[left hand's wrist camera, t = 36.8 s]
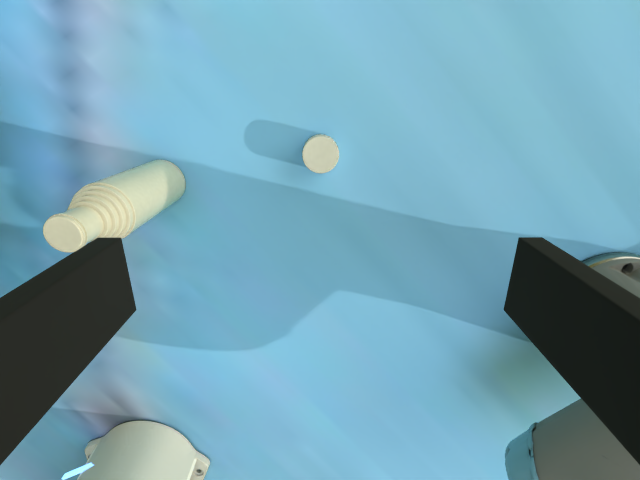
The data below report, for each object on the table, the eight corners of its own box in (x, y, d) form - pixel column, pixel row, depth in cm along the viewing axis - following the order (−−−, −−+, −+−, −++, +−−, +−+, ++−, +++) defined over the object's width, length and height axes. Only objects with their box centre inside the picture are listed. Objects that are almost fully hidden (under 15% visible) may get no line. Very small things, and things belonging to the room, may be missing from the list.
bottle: (165, 211, 43) (71, 280, 27) (131, 179, 42) (9, 231, 25) (194, 184, 42) (114, 238, 25) (160, 150, 40) (52, 184, 24)
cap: (333, 129, 40) (334, 131, 38) (341, 165, 41) (342, 168, 39) (298, 138, 40) (297, 140, 38) (307, 173, 41) (307, 177, 39)
